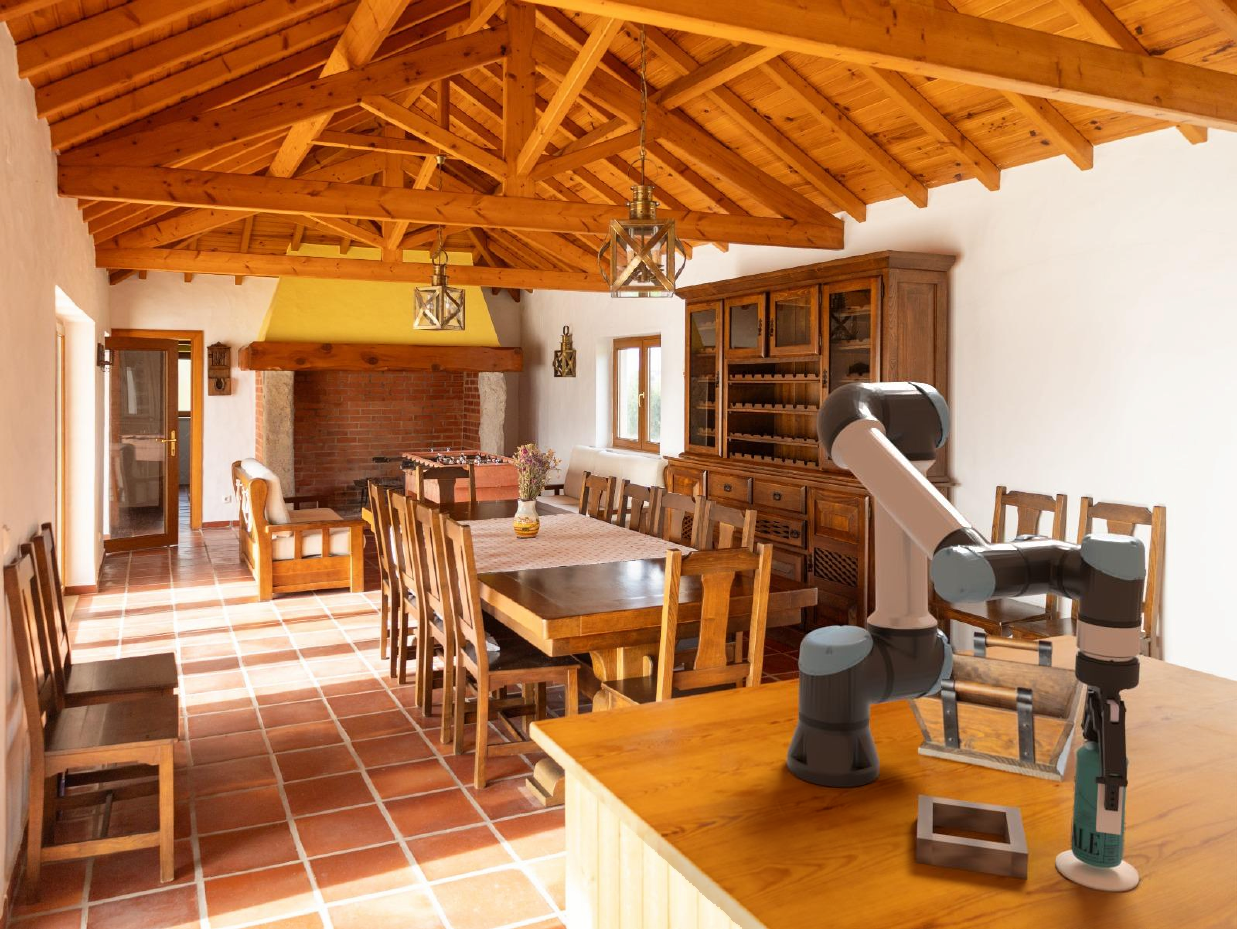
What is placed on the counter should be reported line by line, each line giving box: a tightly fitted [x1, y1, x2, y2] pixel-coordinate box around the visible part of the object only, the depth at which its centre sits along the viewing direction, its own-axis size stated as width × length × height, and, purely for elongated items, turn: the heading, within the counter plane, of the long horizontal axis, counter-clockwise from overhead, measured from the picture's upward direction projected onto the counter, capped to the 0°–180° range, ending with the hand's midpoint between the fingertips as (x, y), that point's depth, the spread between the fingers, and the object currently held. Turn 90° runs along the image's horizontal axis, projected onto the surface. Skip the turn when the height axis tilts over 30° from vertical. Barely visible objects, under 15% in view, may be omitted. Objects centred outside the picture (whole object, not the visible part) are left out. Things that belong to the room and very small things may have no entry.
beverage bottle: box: [1069, 720, 1130, 868], centre depth 129 cm, size 6×7×20 cm
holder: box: [915, 794, 1029, 880], centre depth 136 cm, size 14×14×4 cm
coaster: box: [1055, 849, 1140, 893], centre depth 130 cm, size 10×10×1 cm
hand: (1099, 808), depth 129 cm, fingers open, 13 cm apart
